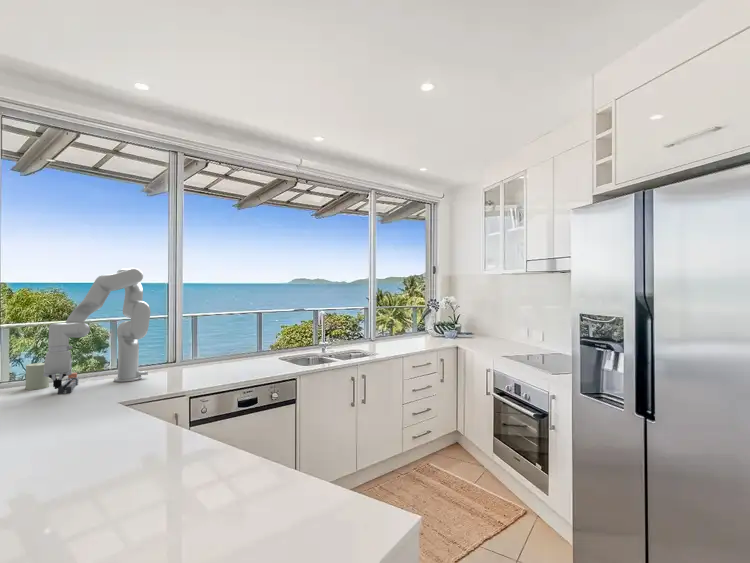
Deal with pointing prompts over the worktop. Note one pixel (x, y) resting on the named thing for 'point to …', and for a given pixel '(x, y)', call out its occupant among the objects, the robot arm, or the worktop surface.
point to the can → (36, 377)
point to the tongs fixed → (71, 384)
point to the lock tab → (72, 375)
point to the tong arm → (63, 387)
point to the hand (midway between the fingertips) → (57, 388)
